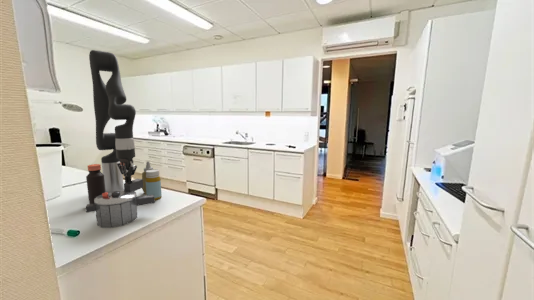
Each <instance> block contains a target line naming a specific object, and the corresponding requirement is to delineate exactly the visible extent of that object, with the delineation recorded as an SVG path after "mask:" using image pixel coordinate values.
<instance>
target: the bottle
mask: <svg viewBox="0 0 534 300" xmlns="http://www.w3.org/2000/svg"><path fill="white" fill-rule="evenodd" d="M146 193H147V194H146V196H147V195H154V201H157V200H160V199H161V198H162V182H161V175H160V169H154V168H153V169H152V170H147V171H146Z"/></svg>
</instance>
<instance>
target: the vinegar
mask: <svg viewBox="0 0 534 300" xmlns="http://www.w3.org/2000/svg"><path fill="white" fill-rule="evenodd" d="M101 170H102V164H101V163H95V164H93V163H92V164H89V165H87V172H88V174H87V175H86V176H85V177H86V179H85V180H86V186H87V197H88V204H92V203H94V199H95V198H96V197H97V196H99V195H102V193H104V192H106V189H105V180H104V174H103V172H101Z"/></svg>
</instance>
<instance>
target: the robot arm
mask: <svg viewBox="0 0 534 300" xmlns="http://www.w3.org/2000/svg"><path fill="white" fill-rule="evenodd" d="M88 54H89V55H88V56H89V59H88V60H89V65H90V73H91V80H92V93H93V94H92V96H93V109H94V118H95V144H96V148H97V149H98V150H99V151H109V150H111V151H112V152H110V153H108V154H106V155H103V156H101V158H100V160H101V170H102V173H103V174H104V180H105V189H106V192H108V193H109V192H114V191H122V190H124V183H127V182H130V181H132V176H133V175H135V173H136V171H137V168H138V165H134V158H135V157H136V147H135V140H134V132H133V131H134V129H133V128H134V123H135V118H136V112H137V110H136V108H135V106H133V105H132V104H127V103H126V102H127V96H126V94H125V89H124V88H123V85H122V84H123V83H122V77H121V73H120V72H121V71H120V66H119V62H118V58H117V56H116V55H115V54H114V53H113V52H110V51H109V52H108V51H101V50H95V49H92V50H90V51H89V53H88ZM101 72H109V73H111V75H110V77H109V79H108V80H107V82H106V83H105V81H104V80H103V79H102V75H101ZM111 119H112V120H115V121H120V120H121V121H124V120H125V122H124V123H123V124H119V125H116V126H115V127H114V132H105V133H104V131H105V128H106V126H107V124H108V123H109V122H110V120H111Z"/></svg>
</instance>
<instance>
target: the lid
mask: <svg viewBox="0 0 534 300" xmlns="http://www.w3.org/2000/svg"><path fill="white" fill-rule="evenodd" d="M123 186H124V190H122V191H114V192H109V193H108V192H104V193H102V195H99V196H97V197H96V198H95V199H94V203H95V204H96V205H100V206H110V205H117V204H122V203H126V202H129V201H131V200H133V199H135V198H136V197H137V192H136V191H138V190H140V189H142V188H143V179H142V178H135V179H131V181H130V182H127V183H125V182H123Z"/></svg>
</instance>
